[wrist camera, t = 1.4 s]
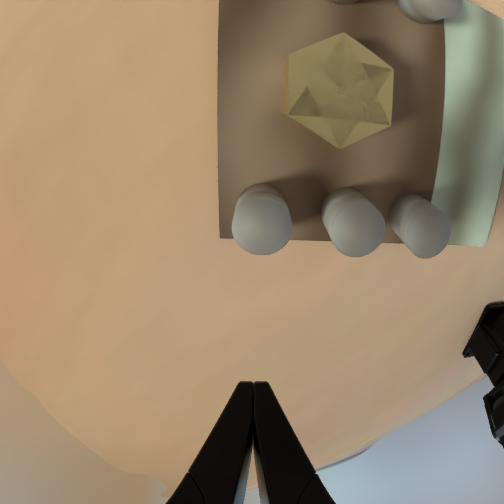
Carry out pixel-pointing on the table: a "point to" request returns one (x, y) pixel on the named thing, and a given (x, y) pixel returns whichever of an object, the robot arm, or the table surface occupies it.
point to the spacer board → (369, 148)
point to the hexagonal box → (338, 90)
